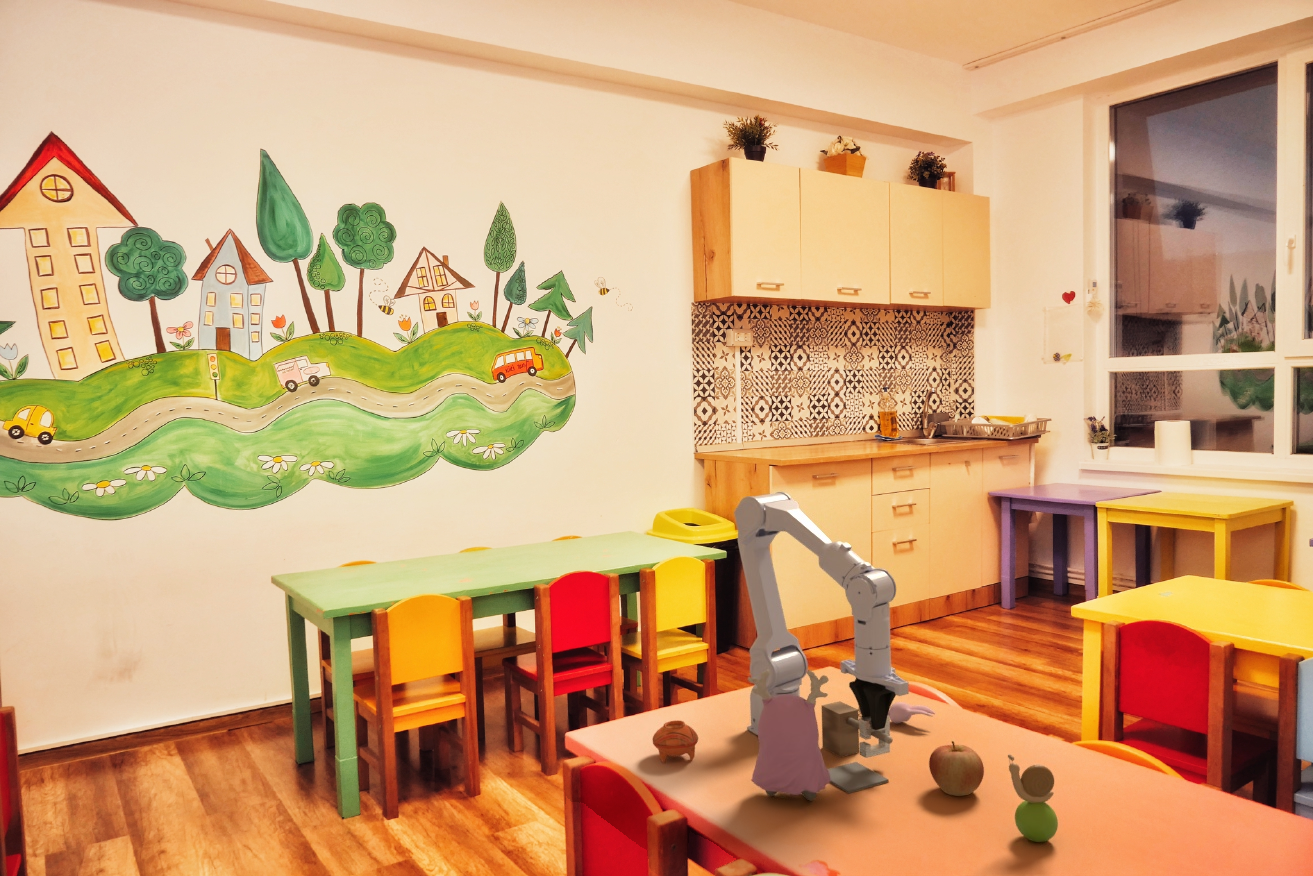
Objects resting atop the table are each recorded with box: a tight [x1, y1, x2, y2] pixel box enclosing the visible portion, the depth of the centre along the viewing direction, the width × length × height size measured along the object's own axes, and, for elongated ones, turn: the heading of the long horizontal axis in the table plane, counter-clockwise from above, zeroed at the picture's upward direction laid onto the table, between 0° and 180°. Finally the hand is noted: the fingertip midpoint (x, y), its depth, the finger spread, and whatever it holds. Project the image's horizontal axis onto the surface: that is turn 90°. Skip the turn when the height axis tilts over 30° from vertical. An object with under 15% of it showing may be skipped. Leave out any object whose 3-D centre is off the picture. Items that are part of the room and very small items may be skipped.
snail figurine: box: [1007, 753, 1059, 843], centre depth 122 cm, size 5×6×12 cm
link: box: [858, 716, 891, 759], centre depth 146 cm, size 2×5×6 cm, turn 117°
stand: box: [821, 701, 893, 758], centre depth 150 cm, size 16×4×8 cm, turn 26°
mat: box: [827, 761, 889, 794], centre depth 143 cm, size 8×8×1 cm
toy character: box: [747, 669, 831, 802], centre depth 137 cm, size 12×10×20 cm
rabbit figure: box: [857, 701, 936, 725], centre depth 167 cm, size 6×6×15 cm
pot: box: [652, 720, 699, 763], centre depth 154 cm, size 8×8×7 cm
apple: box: [928, 740, 985, 797], centre depth 137 cm, size 8×8×8 cm
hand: (874, 726), depth 146 cm, fingers closed on link, 1 cm apart
